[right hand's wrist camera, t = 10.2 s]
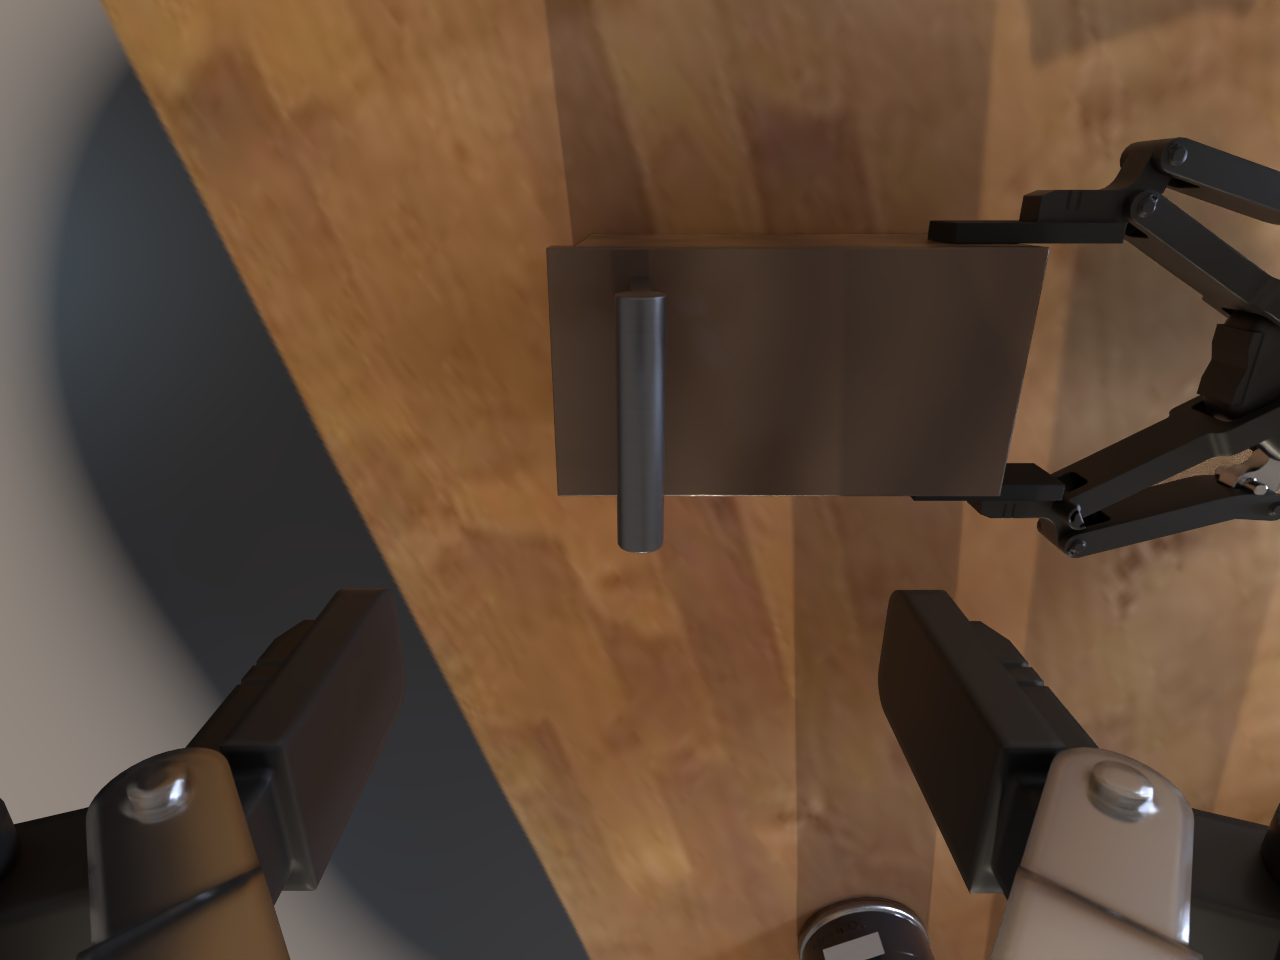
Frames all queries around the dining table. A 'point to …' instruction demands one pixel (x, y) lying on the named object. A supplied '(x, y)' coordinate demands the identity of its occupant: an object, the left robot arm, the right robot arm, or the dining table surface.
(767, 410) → the lid
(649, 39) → the dining table surface
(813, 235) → the chest
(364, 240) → the dining table surface
